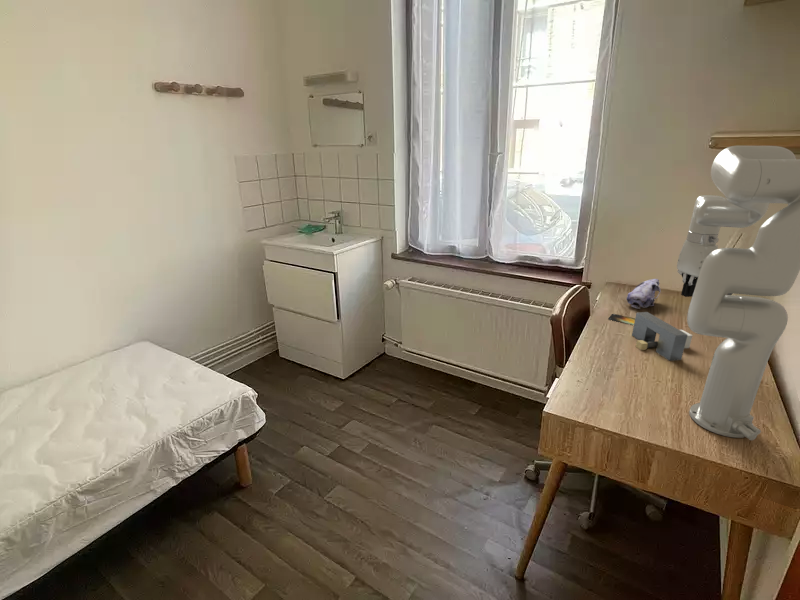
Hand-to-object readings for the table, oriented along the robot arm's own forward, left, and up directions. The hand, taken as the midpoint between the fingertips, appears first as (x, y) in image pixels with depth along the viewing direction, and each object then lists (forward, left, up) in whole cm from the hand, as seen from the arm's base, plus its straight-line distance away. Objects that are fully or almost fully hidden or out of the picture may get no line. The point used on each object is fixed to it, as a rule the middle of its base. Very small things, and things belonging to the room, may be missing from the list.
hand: (687, 295), depth 137 cm
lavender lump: (+34, -13, -18) cm, 40 cm away
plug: (0, +5, -17) cm, 18 cm away
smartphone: (+20, +2, -18) cm, 27 cm away
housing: (0, +7, -17) cm, 19 cm away
